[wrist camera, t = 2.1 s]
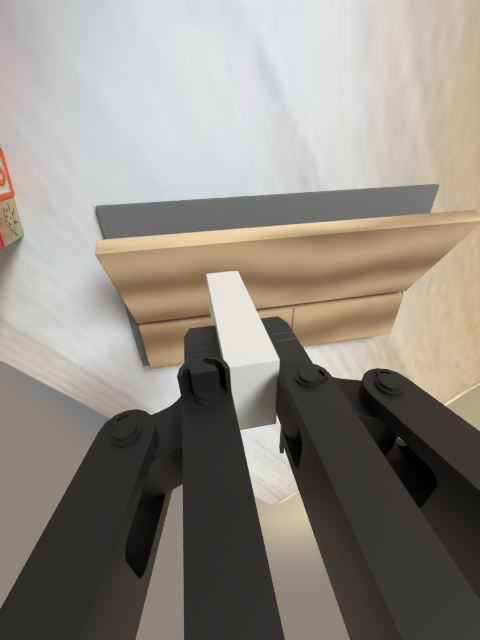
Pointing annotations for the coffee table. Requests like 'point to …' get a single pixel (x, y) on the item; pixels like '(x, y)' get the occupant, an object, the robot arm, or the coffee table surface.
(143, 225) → the underlay
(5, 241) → the stack of blocks
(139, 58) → the coffee table surface
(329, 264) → the board
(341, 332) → the laid plank
